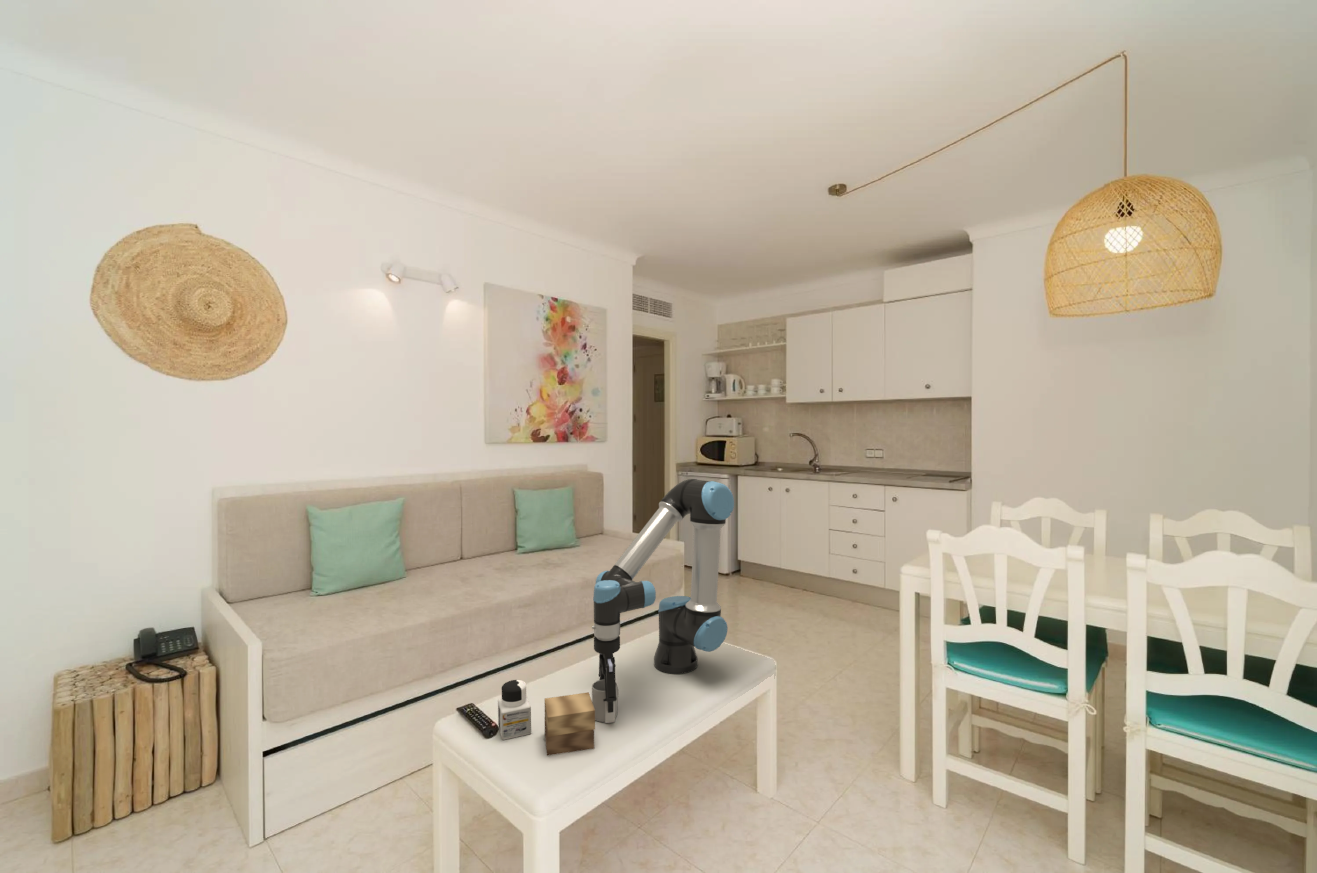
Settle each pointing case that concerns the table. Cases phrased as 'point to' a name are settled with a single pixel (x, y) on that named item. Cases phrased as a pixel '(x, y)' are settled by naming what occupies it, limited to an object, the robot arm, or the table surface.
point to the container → (514, 710)
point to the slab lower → (569, 742)
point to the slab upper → (569, 714)
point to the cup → (601, 700)
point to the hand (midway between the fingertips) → (607, 712)
